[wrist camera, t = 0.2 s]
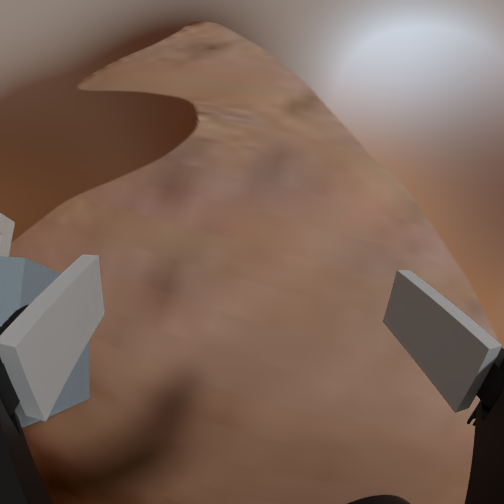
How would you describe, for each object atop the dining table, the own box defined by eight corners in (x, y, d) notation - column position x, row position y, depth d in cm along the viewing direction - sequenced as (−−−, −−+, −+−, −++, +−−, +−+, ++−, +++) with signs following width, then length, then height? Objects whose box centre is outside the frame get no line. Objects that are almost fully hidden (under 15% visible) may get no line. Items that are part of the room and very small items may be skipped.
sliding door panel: (90, 398, 25) (23, 427, 13) (57, 391, 24) (-16, 412, 13) (92, 286, 27) (25, 257, 16) (60, 284, 27) (-13, 255, 16)
